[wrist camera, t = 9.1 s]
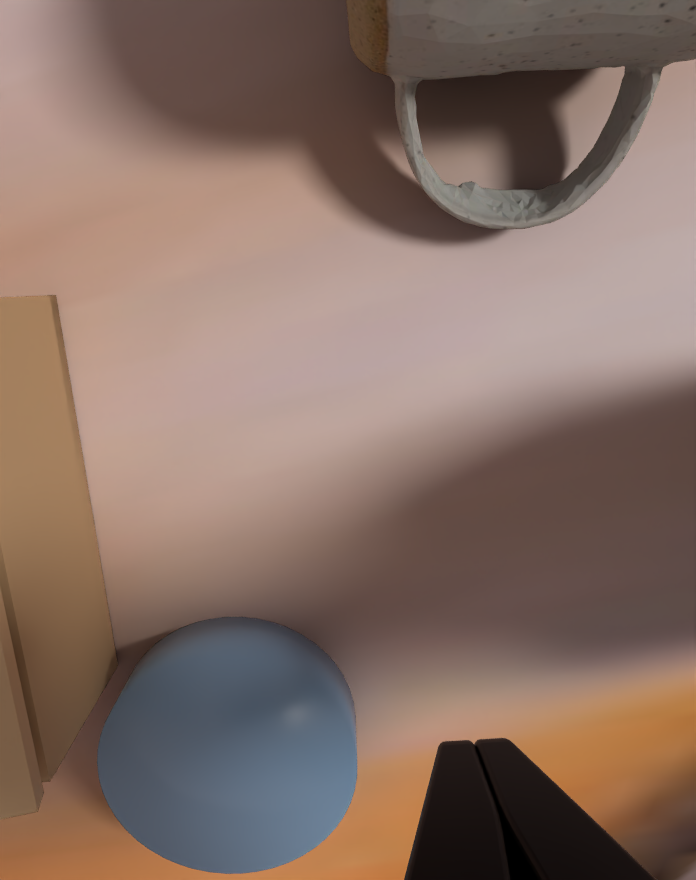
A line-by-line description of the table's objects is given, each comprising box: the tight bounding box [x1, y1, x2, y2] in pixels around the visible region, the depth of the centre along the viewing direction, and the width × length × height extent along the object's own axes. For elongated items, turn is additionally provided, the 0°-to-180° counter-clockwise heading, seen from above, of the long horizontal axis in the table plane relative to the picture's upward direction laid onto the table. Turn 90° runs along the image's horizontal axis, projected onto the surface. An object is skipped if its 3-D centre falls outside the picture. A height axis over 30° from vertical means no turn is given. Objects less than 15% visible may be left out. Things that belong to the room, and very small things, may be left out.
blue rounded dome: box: [97, 617, 357, 874], centre depth 21 cm, size 8×8×2 cm
